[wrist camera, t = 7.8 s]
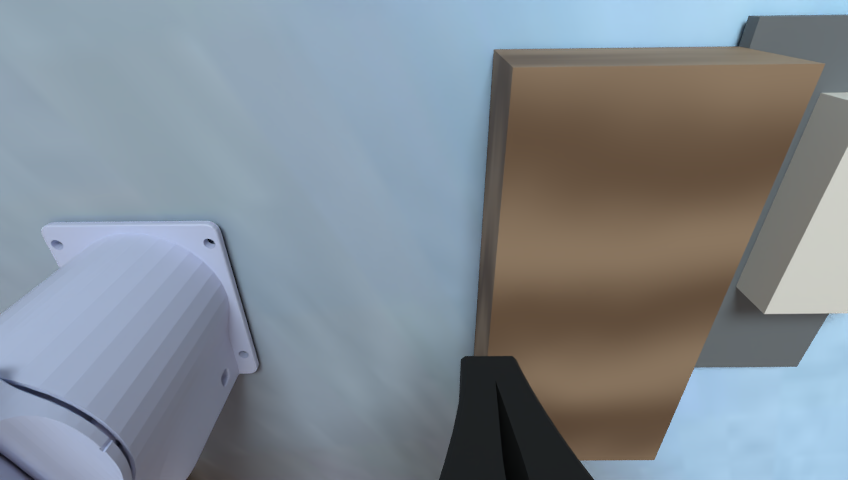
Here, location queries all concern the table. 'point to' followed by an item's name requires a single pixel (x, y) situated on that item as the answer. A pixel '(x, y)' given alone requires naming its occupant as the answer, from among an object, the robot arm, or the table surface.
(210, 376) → the robot arm
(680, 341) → the brown wooden block
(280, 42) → the table surface
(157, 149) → the table surface
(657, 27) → the table surface
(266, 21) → the table surface
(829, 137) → the cream foam block
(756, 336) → the mat
